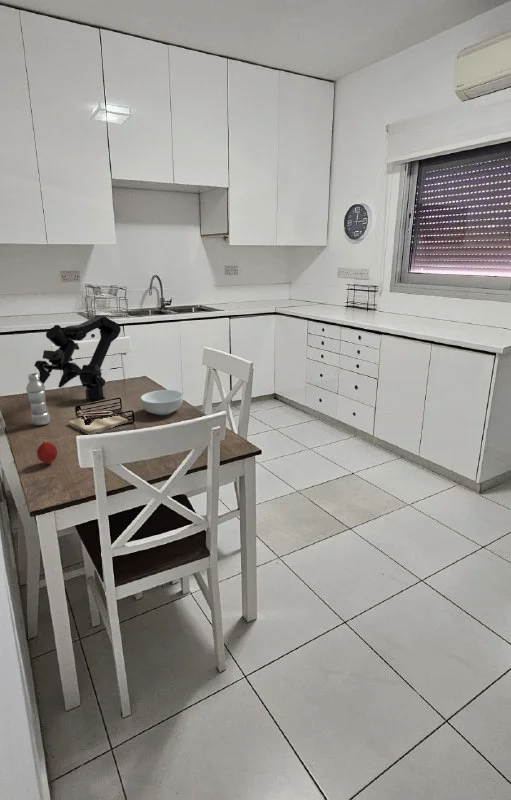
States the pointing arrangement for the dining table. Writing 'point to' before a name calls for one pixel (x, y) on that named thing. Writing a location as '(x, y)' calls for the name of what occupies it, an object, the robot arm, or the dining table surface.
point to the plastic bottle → (37, 400)
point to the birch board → (98, 424)
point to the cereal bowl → (162, 401)
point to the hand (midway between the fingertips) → (49, 386)
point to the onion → (47, 452)
